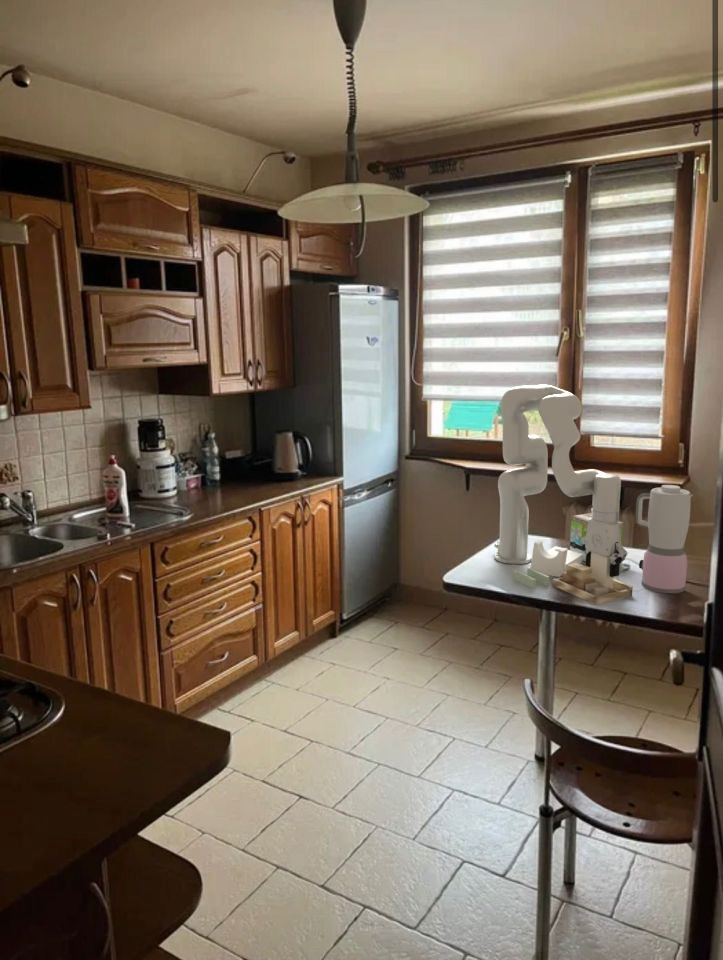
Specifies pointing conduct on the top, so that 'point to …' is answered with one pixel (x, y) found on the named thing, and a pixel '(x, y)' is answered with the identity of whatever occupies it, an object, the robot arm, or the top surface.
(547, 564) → the white saddle block
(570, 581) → the offcut
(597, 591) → the offcut
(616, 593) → the tray
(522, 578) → the holder
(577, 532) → the tea box
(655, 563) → the blender
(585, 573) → the offcut
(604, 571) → the tall board
